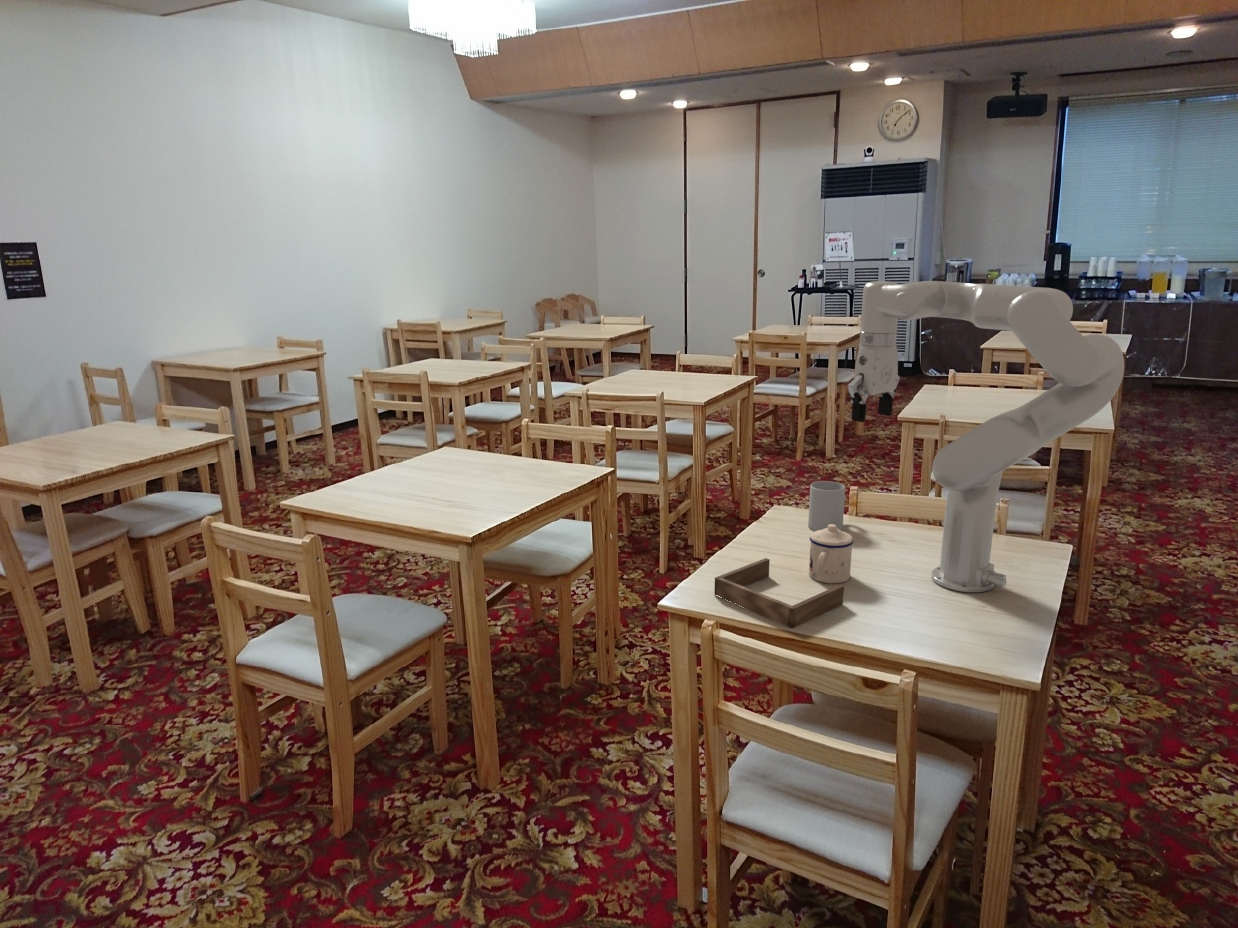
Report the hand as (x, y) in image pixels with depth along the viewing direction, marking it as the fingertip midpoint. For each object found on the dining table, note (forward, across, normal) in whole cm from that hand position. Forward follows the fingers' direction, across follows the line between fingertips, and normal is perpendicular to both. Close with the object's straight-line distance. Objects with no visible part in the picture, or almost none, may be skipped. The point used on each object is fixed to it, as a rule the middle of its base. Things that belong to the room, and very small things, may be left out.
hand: (871, 417), depth 187 cm
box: (+32, -34, -5) cm, 47 cm away
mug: (+32, +10, +17) cm, 38 cm away
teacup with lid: (+32, -18, -4) cm, 37 cm away
